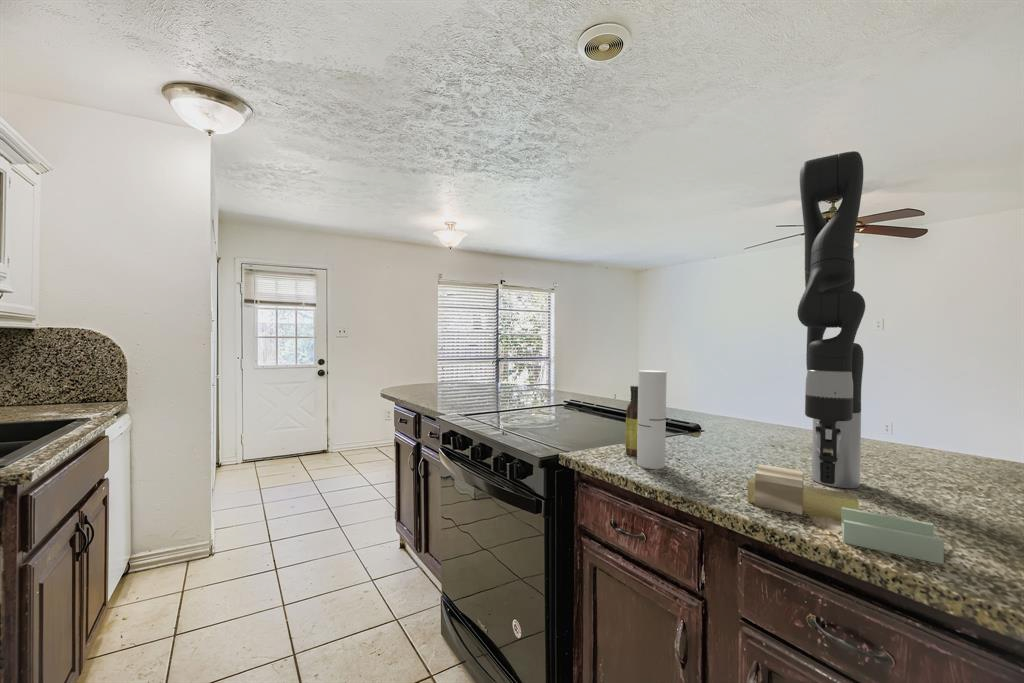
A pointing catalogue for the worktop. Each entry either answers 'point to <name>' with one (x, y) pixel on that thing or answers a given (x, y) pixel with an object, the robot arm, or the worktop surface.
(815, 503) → the long yellowish block
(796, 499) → the beige u-shaped block
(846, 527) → the cradle
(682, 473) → the worktop surface
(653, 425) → the cylindrical container
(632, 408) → the sauce bottle
